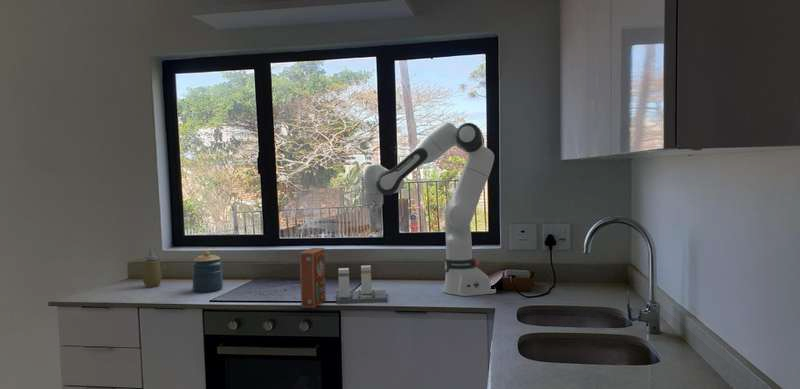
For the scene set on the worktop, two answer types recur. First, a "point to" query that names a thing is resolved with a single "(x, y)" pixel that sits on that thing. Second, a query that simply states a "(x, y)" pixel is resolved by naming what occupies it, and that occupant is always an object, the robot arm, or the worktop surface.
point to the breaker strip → (355, 296)
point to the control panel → (312, 277)
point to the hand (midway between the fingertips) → (373, 231)
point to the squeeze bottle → (152, 271)
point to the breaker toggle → (366, 279)
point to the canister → (207, 273)
